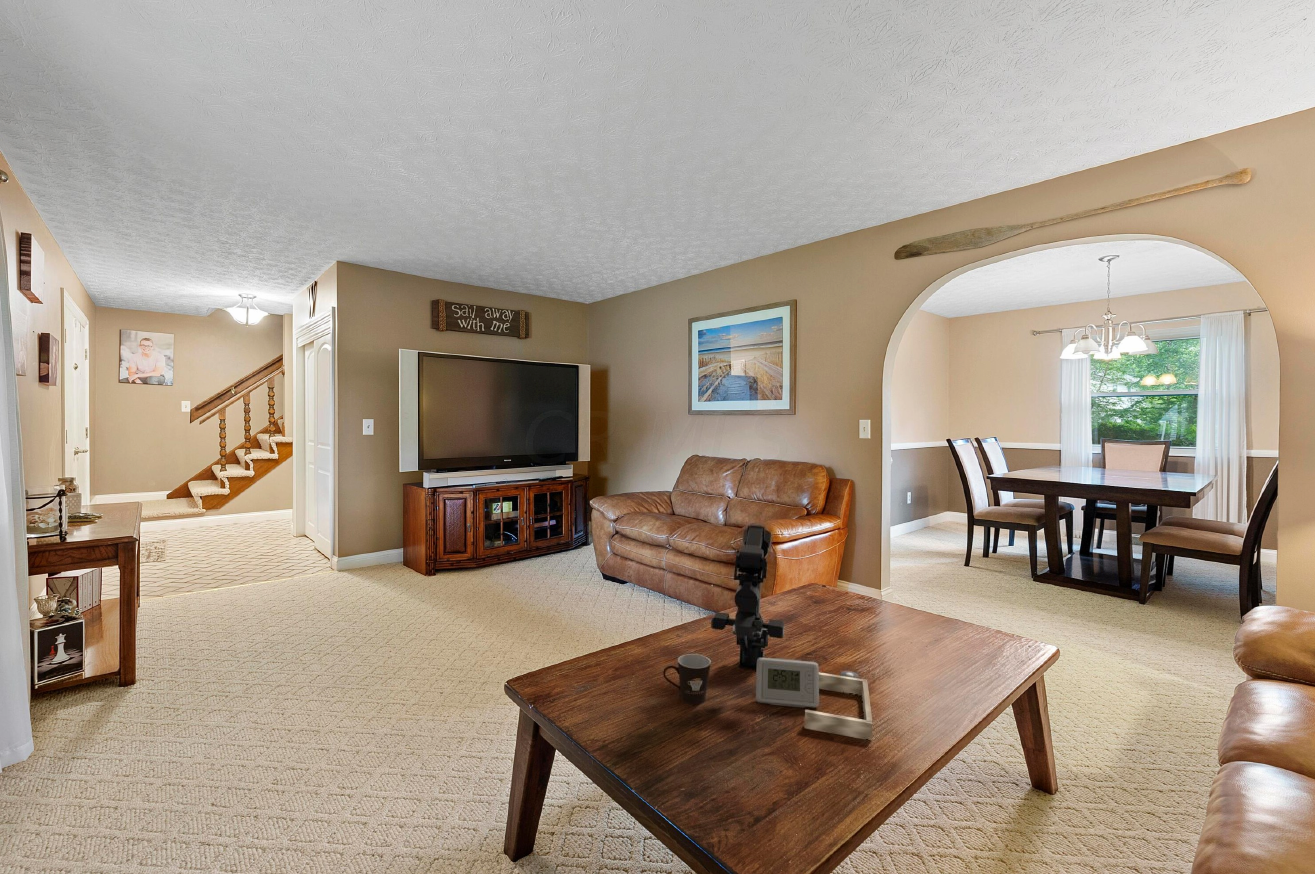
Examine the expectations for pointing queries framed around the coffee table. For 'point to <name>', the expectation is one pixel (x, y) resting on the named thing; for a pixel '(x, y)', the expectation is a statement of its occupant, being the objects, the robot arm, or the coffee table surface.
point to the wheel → (849, 674)
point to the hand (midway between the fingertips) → (746, 656)
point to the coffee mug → (692, 677)
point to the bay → (837, 722)
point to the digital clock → (787, 682)
